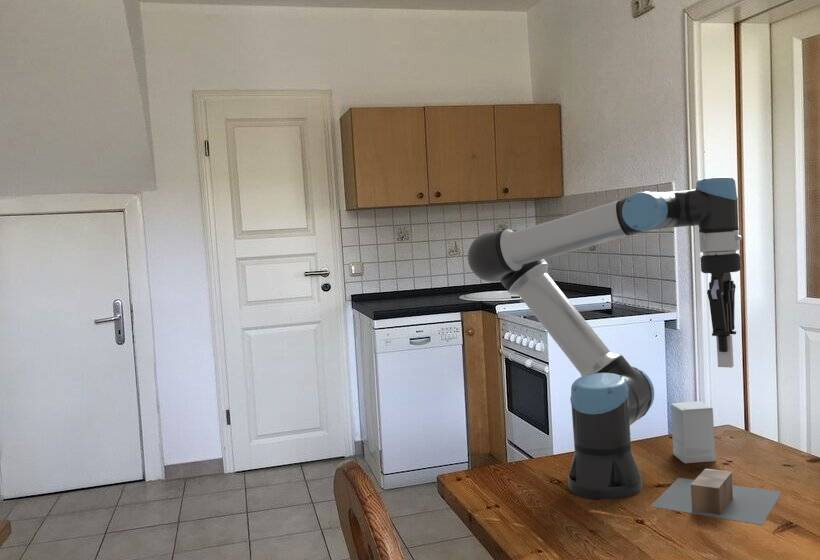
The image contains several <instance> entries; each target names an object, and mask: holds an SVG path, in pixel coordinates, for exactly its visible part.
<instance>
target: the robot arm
mask: <svg viewBox="0 0 820 560" xmlns="http://www.w3.org/2000/svg"><path fill="white" fill-rule="evenodd" d="M738 201H739V197H738V194H737V187H736V180H735V179H734V177H731V176H717V177H707V178H701V179H698V180H697V181H696V186H695V188H694V189H689V190H680V191H679V190H678V191H665V192H664V191H659V192H658V191H651V190H649V191H648V190H643V191H639V192H635V193H633V194H631V195H629V197H628V196H627V197H625V198H623V199H619V200H615V201H612V202H608V203H606V204H601V205H598V206H596V207H592V208H587V209H585V210H582V211H579V212H575V213H572V214H569V215H565V216H562V217H558V218H555V219H552V220H549V221H545V222H541V223H539V224H536V225H532V226H529V227H526V228H523V229H519V230H518V229H510V228H507V229H503V230H500V231H494V232H486V233H485V232H484V233H483V234H481V235H478V236H477V237H476V238H475V239H474V240H473V241H472V242H471V244H470V246H469V248H468V251H467V263H468V266H469V268H470V270H471V271H472V273H473V275H475V276H476V277H477V278H478V279H481V280H483V281H486V282H500V283H501V284H502V285H503V287H504V288H505V290H507V292H508V293H509V294H510V295H518V296H519V297H520V298H521V300H522V301H523V302H524V303H525V305H526V306H527V307H528V309H529V310H530V311H531V312H532V314H533V315H534V316H535V318H536V319H537V320H538V321H539V322H540V324H541V325H542V327H543V329H545V330H546V332H547V333H548V334H549V336H550V337H551V338H552V339H553V340H554V342H555V343H556V345H558V347H559V349H560V350H561V351H562V352H563V354H565V356H566V357H567V359H569V361H570V363H571V364H572V365H573V367H575V369H576V370H577V371H578V373H579V374H580V375H581V376H580V377H578V378H576V380H574V382H573V383H572V384H571V387H570V404H571V405H570V406H571V419H572V431H573V433H572V434H573V443H574V444H573V445H574V446H573V447H574V454H573V457H572V461H571V465H570V469H569V472H568V476H567V481H568V489H569V491H570V492H571V493H572V494H575V495H577V496H579V497H582V498H586V499H592V500H599V501H600V500H617V499H618V500H619V499H624V498H629V497H633V496H635V495H637V494H639V493H640V492H641V491H642V489H643V480H642V475H641V473H640V470H639V467H638V465H637V463H636V459H635V457H634V455H633V452H632V441H631V440H632V439H631V425H632V424H634V423H635V422H637V421H639V420H641V418H643V417H644V416H646V414H647V413H648V412H649V410H650V408H651V407H652V405H653V403H654V400H655V388H654V385H653V382H652V380H651V378H650V377H649V375H648V374H647V373H646V372H645V371H643V370H642V369H641V368H638V367H635V366H631V364H630V363H629V362H628V361H627V360H626V358H625V357H624V356H623V354H621V353H616V352H612V351H611V350H610V349H609V348H608V347H607V345H606V344H605V342H603V340H602V339H601V338H600V337H599V335H598V334H597V333H596V332H595V330H594V329H593V327H591V326H590V324H589V322H587V321H586V320H585V318H584V317H583V315H581V313H580V312H579V310H578V309H577V308H576V307H575V305H574V304H573V303H572V302H571V301H570V300H569V299H568V297H567V296H566V295H565V293H564V292H563V291H562V290H561V288H559V286H558V285H557V284H556V282H555V281H554V280H553V278H552V277H551V276H550V275H549V274H548V268H549V264H548V262H547V261H546V260H545V259H548V258H552V257H556V256H559V255H563V254H567V253H571V252H574V251H577V250H580V249H585V248H589V247H594V246H597V245H599V244H602V243H607V242H611V241H614V240H618V239H621V238H624V237H629V236H633V235H637V234H641V233H645V232H648V231H653V230H660V229H671V228H680V227H695V226H698V241H699V242H698V243H699V252H700V253H702V254H701V256H700V258H699V259H700V260H699V261H700V271H701V273H703V274H710V275H711V276H710V281H709V283H708V288H709V289H707V291H706V294H707V298H708V302H709V310H710V312H709V313H710V319H711V325H712V326H711V328H712V333H711V336H712V337H716V339H715V340H716V353H717V355H716V356H717V358H716V359H717V368H733V367H734V365H735V364H734V349H733V348H734V347H733V346H734V345H733V335H737V331H736V330H735V329H736V327H735V306H736V305H735V304H736V303H735V295H736V288H737V287H736V284H735V283H734V282H735V281H734V280H732V273H737V272H740V271H741V268H742V267H741V254H739V253H738V252H737V251H739V250H740V242H739V241H741V240H743V236H742V235H739V234H740V233H739V208H738V207H739V206H738V203H739V202H738Z"/></svg>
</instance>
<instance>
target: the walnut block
mask: <svg viewBox="0 0 820 560" xmlns="http://www.w3.org/2000/svg"><path fill="white" fill-rule="evenodd" d="M693 480H694V481H693V482H692V484H691V499H692V510H694V511H700V512H706V513H712V514H718V515H720V514H721V513H722V511H723V510H724V509H725V507H726V506H727V505H728V503H729V502H730V501H731V499H732V498H733V485H734V484H733V472H732V471H728V470H720V469H719V470H718V469H712V468H704V469H703V470H702V471H701V473H699V475H697V476H696V478H695V479H693Z"/></svg>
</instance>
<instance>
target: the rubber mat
mask: <svg viewBox="0 0 820 560" xmlns="http://www.w3.org/2000/svg"><path fill="white" fill-rule="evenodd" d="M694 480H695V479H692V478H691V479H690V478H683V477H677V479H676V480H675V481H674V482H673V483H672V484H671V485H670V486H669V487H668V488H666V490H664V491H663V492H662V494H661V495H659V497H658V498H657V499H656V500H655V501H654V502H653V503H652V504H650V506H649V507H651V508H655V509H656V508H657V509H663V510H668V511H673V512H681V513H686V514H687V513H688V514H693V515H699V516H703V517H704V516H705V517H711V518H716V519H723V520H729V521H734V522H742V523H746V524H753V525H759V526H763V524H764V523H765V521H766V520H767V518H768V516H769V515H770V513H771V511H773V508H774V506H775V505H776V503H777V501H778V500H779V498H780V496H781V494H782V493H783V492H782V491H778V490H770V489H763V488H757V487H749V486H741V485H735V484H733V498H732V499H731V501H730V502H729V503H728V505H727V506H726V507H725V509H724V510H723V511H722V513H721V514H720V515H718V514H712V513H706V512H700V511H694V510H692V499H691V484H692V482H693V481H694Z"/></svg>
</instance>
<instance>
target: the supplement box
mask: <svg viewBox="0 0 820 560" xmlns="http://www.w3.org/2000/svg"><path fill="white" fill-rule="evenodd" d="M670 417H671V418H670V419H671V420H670V421H671V433H672V434H671V435H672V436H671V437H672V453H673V455H674V457H676V458H677V459H679V460H680V461H681V462H682V463H684V464H690V463H691V464H693V463H704V462H716V459H717V458H716V445H715V444H716V441H715V426H714V408H713V407H712V406H710V405H708V404H706V403H705V402H702V401H701V400H700V401H699V400H698V401H687V402H686V401H685V402H684V401H683V402H674V403H670Z"/></svg>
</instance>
